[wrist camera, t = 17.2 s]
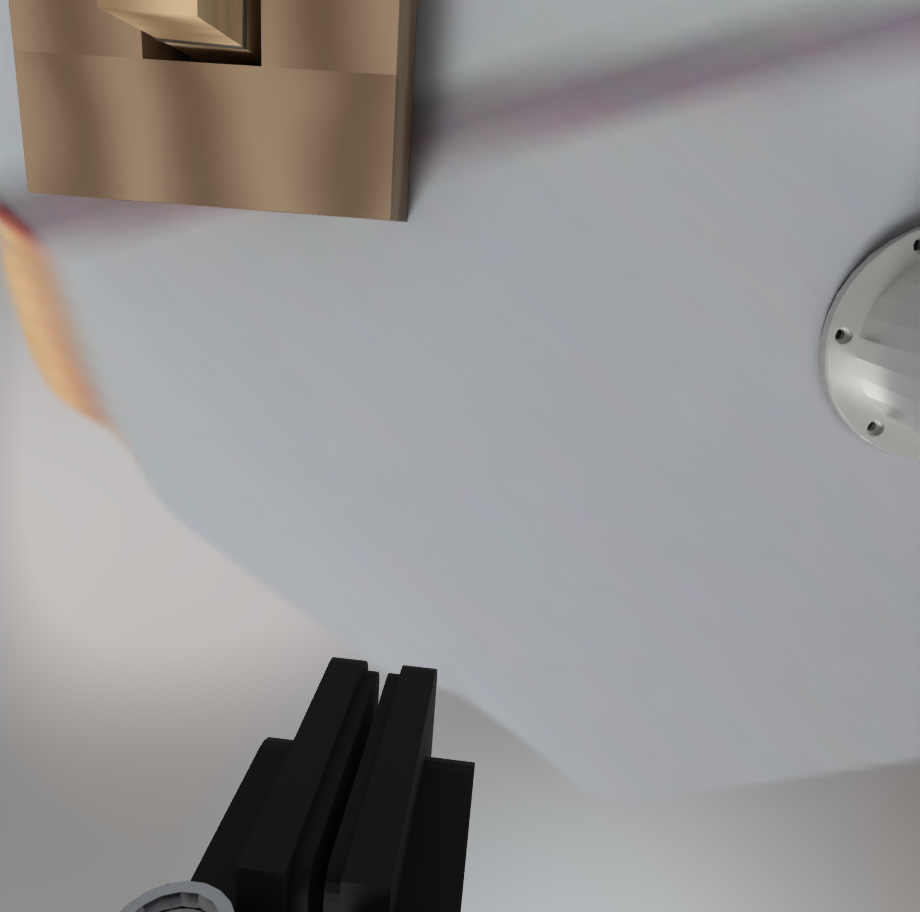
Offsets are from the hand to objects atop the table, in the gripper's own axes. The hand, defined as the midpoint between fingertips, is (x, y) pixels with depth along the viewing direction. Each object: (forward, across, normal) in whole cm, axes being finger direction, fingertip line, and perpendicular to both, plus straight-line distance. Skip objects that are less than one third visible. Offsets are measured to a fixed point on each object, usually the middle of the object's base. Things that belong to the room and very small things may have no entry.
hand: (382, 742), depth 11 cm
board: (+31, +14, -17) cm, 38 cm away
